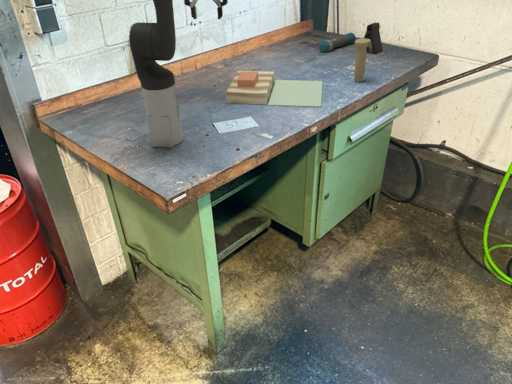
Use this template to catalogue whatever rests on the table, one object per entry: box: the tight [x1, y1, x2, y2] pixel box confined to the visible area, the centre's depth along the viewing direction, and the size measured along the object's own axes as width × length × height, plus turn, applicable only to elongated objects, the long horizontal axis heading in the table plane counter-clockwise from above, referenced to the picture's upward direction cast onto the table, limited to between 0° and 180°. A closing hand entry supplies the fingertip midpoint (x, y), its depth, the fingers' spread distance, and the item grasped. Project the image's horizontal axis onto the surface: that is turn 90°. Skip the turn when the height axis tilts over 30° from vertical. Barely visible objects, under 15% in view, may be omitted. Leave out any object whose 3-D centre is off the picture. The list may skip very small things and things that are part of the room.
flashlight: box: [318, 32, 356, 53], centre depth 199 cm, size 5×22×5 cm, turn 132°
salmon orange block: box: [237, 70, 258, 87], centre depth 153 cm, size 9×6×2 cm, turn 171°
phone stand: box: [363, 21, 383, 55], centre depth 190 cm, size 9×6×12 cm, turn 47°
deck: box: [225, 70, 275, 105], centre depth 156 cm, size 22×14×4 cm, turn 171°
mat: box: [267, 79, 324, 108], centre depth 155 cm, size 24×18×1 cm
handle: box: [353, 37, 371, 83], centre depth 159 cm, size 5×6×15 cm
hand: (207, 18), depth 146 cm, fingers open, 8 cm apart
